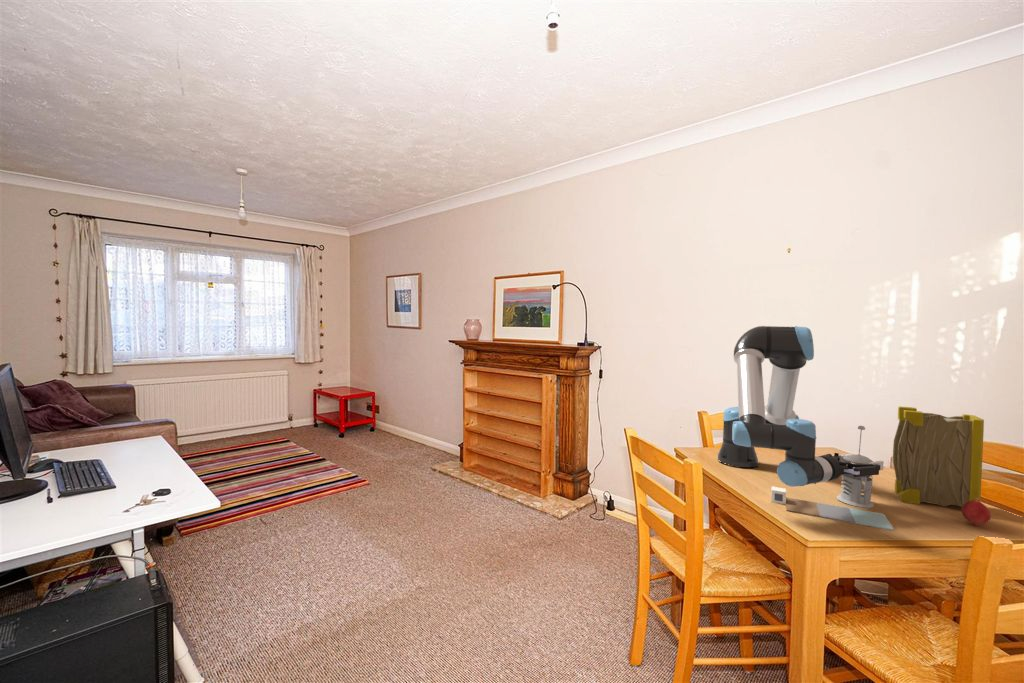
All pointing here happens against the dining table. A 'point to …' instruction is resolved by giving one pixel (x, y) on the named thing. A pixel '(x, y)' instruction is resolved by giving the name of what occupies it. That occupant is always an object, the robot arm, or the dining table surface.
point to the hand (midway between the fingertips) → (867, 461)
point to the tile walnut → (802, 507)
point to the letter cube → (778, 495)
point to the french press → (856, 483)
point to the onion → (976, 512)
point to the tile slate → (835, 512)
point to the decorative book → (938, 457)
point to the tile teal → (870, 519)
